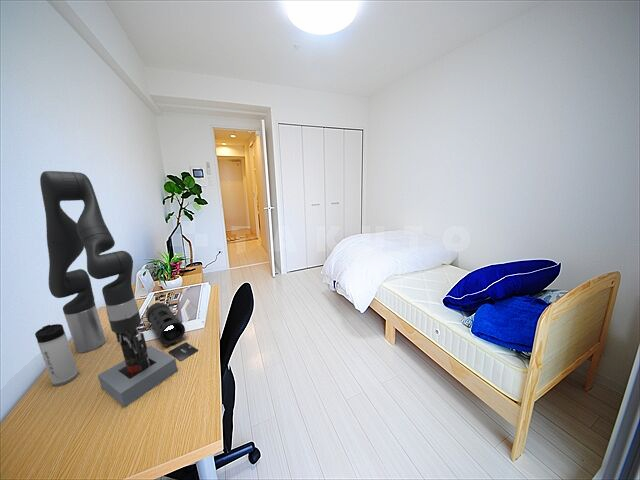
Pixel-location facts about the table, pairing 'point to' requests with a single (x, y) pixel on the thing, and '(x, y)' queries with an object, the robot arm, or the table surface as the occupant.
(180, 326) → the muzzle brake
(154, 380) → the block
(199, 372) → the table surface
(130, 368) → the deodorant
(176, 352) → the solid state drive
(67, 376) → the travel mug
